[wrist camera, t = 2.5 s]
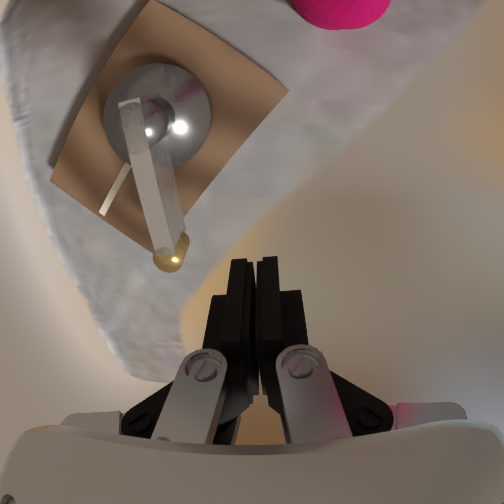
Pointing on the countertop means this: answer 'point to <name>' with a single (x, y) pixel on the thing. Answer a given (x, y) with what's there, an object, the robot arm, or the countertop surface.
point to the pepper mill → (341, 12)
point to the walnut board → (210, 154)
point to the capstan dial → (159, 145)
